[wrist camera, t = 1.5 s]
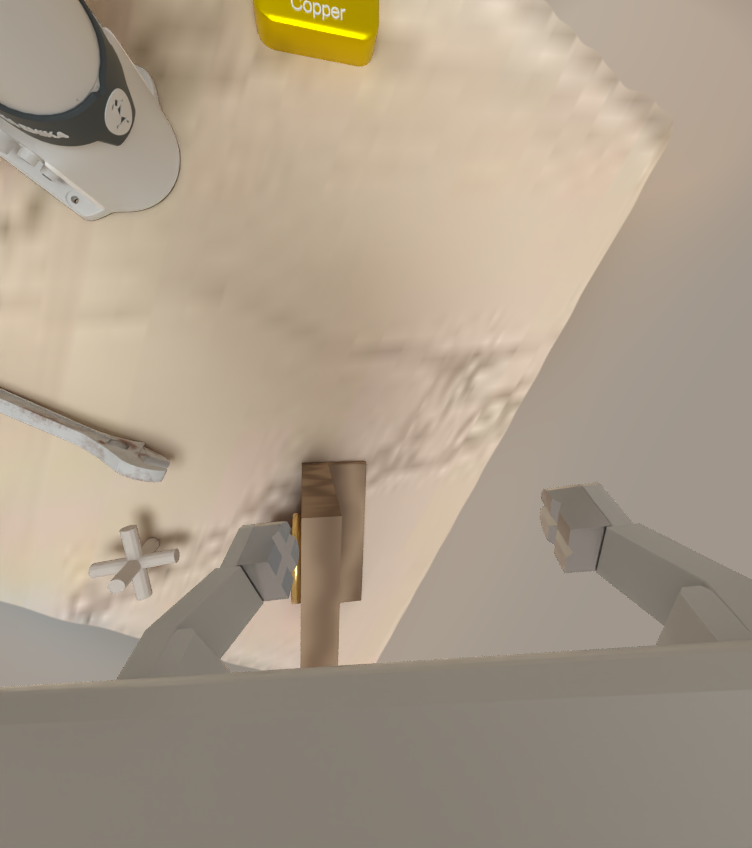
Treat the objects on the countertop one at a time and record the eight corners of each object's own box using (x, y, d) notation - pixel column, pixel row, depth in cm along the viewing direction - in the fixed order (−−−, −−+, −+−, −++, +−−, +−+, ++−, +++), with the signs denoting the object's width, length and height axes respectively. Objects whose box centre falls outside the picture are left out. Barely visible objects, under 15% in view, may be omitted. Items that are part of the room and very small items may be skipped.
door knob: (269, 572, 53) (260, 629, 42) (268, 501, 51) (258, 540, 40) (301, 569, 54) (300, 624, 43) (301, 500, 52) (301, 537, 41)
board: (300, 600, 56) (300, 723, 36) (301, 462, 52) (301, 518, 33) (359, 594, 58) (388, 707, 39) (364, 461, 54) (398, 513, 35)
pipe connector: (106, 518, 47) (56, 556, 38) (182, 506, 49) (153, 540, 40) (122, 581, 49) (78, 633, 39) (195, 567, 51) (170, 613, 41)
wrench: (-36, 362, 43) (186, 460, 48) (-41, 374, 43) (181, 471, 48) (-120, 356, 35) (156, 474, 40) (-126, 372, 36) (150, 488, 40)
